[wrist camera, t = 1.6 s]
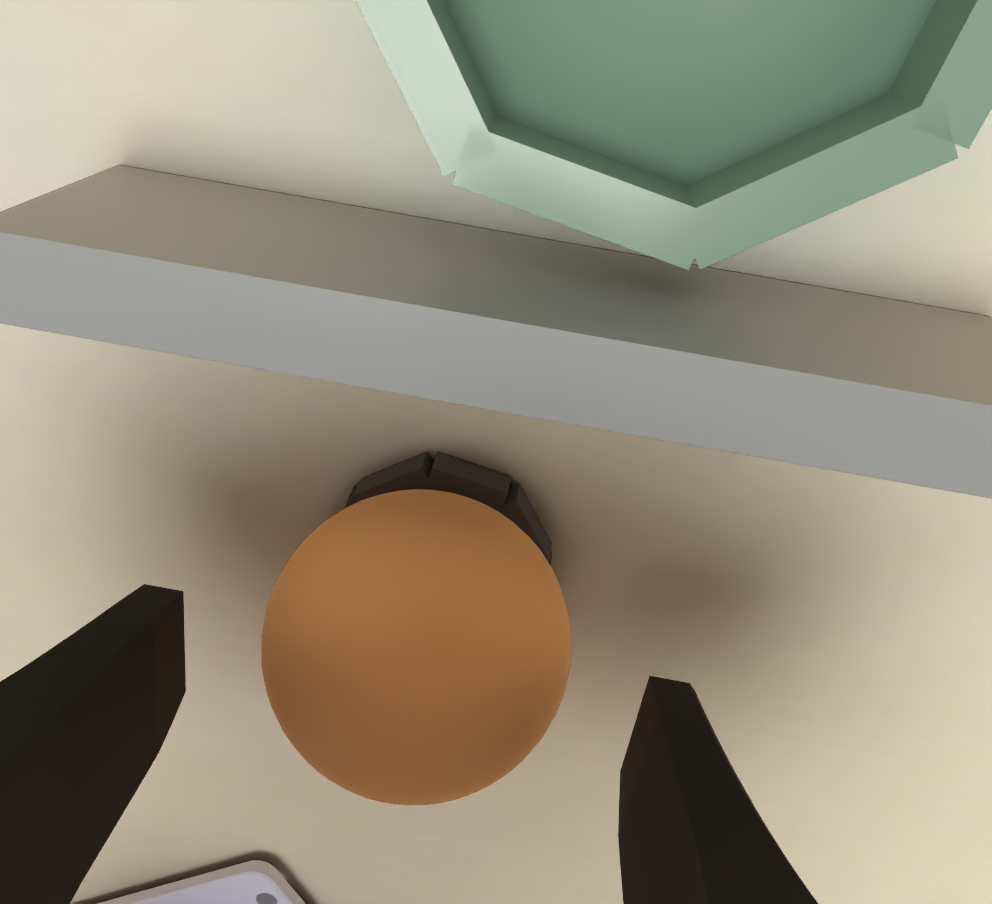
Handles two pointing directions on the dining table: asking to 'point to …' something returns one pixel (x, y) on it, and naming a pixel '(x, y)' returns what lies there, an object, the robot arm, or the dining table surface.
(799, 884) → the robot arm
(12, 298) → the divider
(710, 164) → the dish
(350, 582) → the ball
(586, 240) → the dining table surface
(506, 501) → the ring
